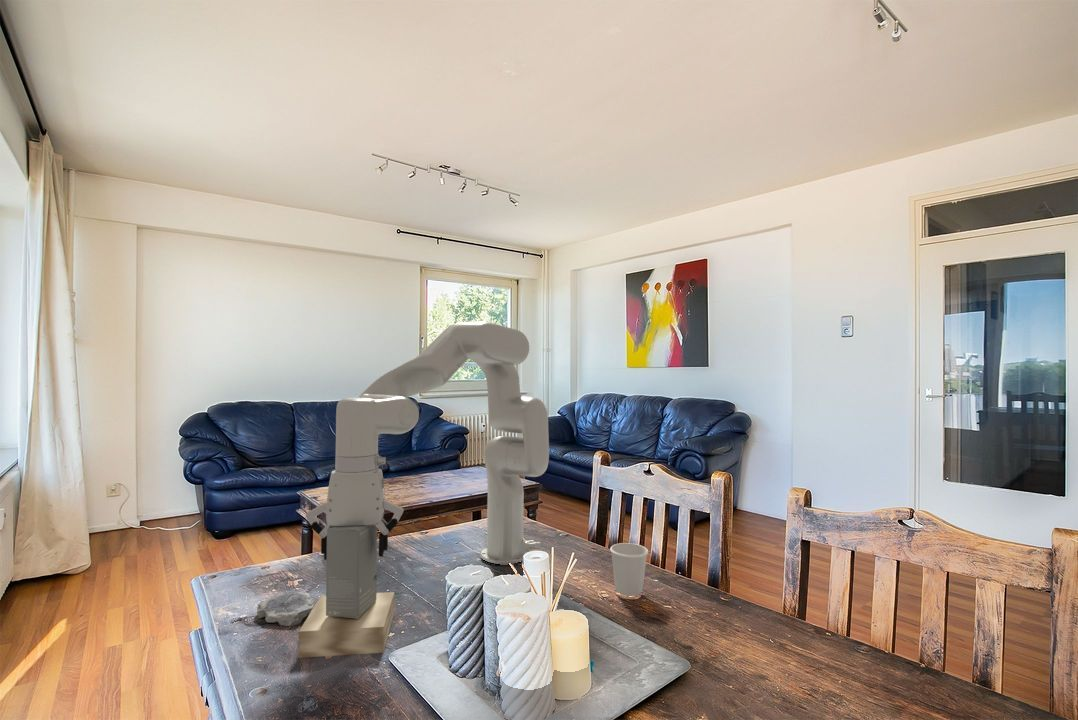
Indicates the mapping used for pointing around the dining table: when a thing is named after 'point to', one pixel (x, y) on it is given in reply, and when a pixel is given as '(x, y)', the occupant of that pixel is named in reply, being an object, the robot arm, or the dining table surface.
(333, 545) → the skincare box
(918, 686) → the dining table surface
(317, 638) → the maple block
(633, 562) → the dixie cup
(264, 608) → the grey rock
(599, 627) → the dining table surface
